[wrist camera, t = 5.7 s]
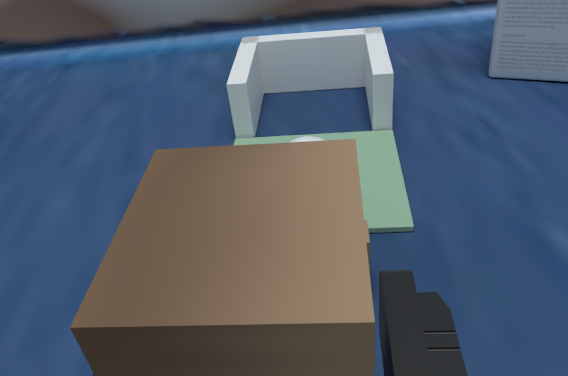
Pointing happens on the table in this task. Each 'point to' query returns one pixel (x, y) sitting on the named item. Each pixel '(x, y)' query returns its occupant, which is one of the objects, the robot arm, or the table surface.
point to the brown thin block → (236, 267)
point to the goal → (310, 71)
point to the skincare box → (530, 40)
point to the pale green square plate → (370, 177)
